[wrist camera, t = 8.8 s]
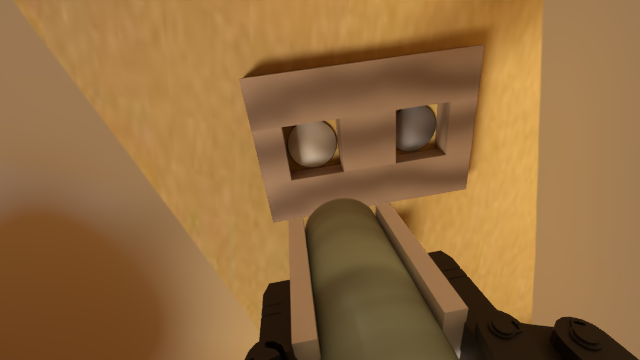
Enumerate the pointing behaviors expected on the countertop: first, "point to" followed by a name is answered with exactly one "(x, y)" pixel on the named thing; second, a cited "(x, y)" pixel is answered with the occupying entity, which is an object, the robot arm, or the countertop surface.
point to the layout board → (365, 129)
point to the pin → (366, 291)
